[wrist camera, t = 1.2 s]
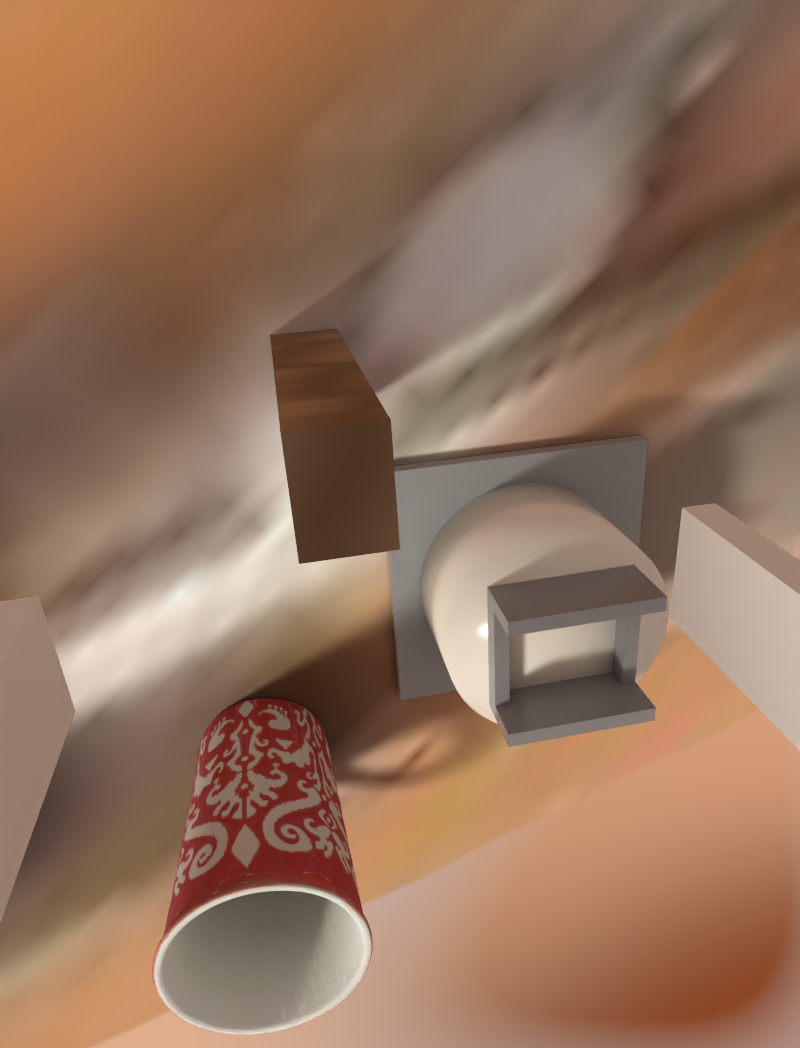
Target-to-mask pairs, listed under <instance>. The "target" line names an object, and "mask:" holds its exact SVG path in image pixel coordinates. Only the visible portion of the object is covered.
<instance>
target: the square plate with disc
mask: <svg viewBox="0 0 800 1048" xmlns="http://www.w3.org/2000/svg"><path fill="white" fill-rule="evenodd" d="M647 450H648V439H647V438H645V437H644V436H642V435H636V436H628V437H620V438H612V439H604V440H596V441H588V442H580V443H572V444H564V445H557V446H549V447H541V448H533V449H525V450H517V451H509V452H501V453H493V454H485V455H477V456H469V457H461V458H453V459H445V460H437V461H430V462H422V463H414V464H406V465H398V466H394V472H395V486H396V499H397V513H398V526H399V540H400V550H393V551H387V557H388V569H389V582H390V594H391V606H392V618H393V630H394V642H395V654H396V666H397V678H398V690H399V695H400V699H401V701H402V700H408V699H414V698H420V697H426V696H432V695H437V694H443V693H449V692H455V691H458V693H459V694H460V696H461V697H462V698H463V700H464V701H465V702H466V703H467V704H468V705H469V706H470V707H471V708H472V709H473V710H475V711H476V712H477V713H479V714H480V715H481V716H483V717H485V718H487V719H489V720H491V721H492V722H495V723H498V725H499V727H500V729H501V732H502V734H503V736H504V738H505V740H506V742H507V745H508V747H511V746H517V745H522V744H527V743H533V742H538V741H544V740H549V739H555V738H560V737H566V736H571V735H577V734H582V733H588V732H593V731H598V730H604V729H609V728H615V727H620V726H626V725H631V724H637V723H642V722H648V721H653V720H655V711H656V708H655V706H654V705H653V704H652V703H651V701H650V700H649V699H648V698H647V696H646V695H645V694H644V692H643V691H642V690H641V689H640V687H639V686H638V685H637V683H638V682H639V681H640V680H641V678H642V677H643V676H644V675H645V673H646V672H647V671H648V669H649V668H650V666H651V665H652V663H653V661H654V660H655V658H656V656H657V654H658V652H659V650H660V647H661V645H662V643H663V639H664V636H665V633H666V629H667V623H668V611H669V605H668V596H667V591H666V588H665V584H664V581H663V579H662V577H661V575H660V573H659V571H658V569H657V568H656V566H655V565H654V563H653V562H652V561H651V560H650V559H649V558H648V557H647V556H646V554H645V553H644V552H643V551H641V550H640V549H639V547H640V535H641V522H642V510H643V498H644V486H645V474H646V462H647Z"/></svg>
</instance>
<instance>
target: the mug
mask: <svg viewBox="0 0 800 1048" xmlns="http://www.w3.org/2000/svg"><path fill="white" fill-rule="evenodd" d="M371 954H372V935H371V930H370V927H369V924H368V922H367V920H366V918H365V916H364V914H363V911H362V907H361V902H360V898H359V894H358V888H357V883H356V877H355V873H354V868H353V863H352V858H351V854H350V849H349V844H348V840H347V835H346V830H345V826H344V820H343V817H342V811H341V805H340V799H339V796H338V791H337V786H336V782H335V777H334V772H333V767H332V761H331V756H330V752H329V747H328V742H327V738H326V734H325V731H324V729H323V727H322V725H321V723H320V722H319V720H318V719H317V718H316V717H315V716H314V715H313V714H312V713H311V712H310V711H309V710H307V709H306V708H304V707H302V706H301V705H299V704H297V703H294V702H291V701H287V700H283V699H277V698H260V699H252V700H247V701H244V702H241V703H238V704H236V705H234V706H232V707H230V708H228V709H227V710H225V711H224V712H222V713H221V714H220V715H218V716H217V717H216V718H215V719H214V720H213V722H212V723H211V724H210V725H209V727H208V728H207V730H206V731H205V734H204V736H203V739H202V742H201V746H200V749H199V755H198V762H197V767H196V772H195V779H194V785H193V790H192V795H191V800H190V804H189V809H188V815H187V820H186V826H185V830H184V835H183V840H182V846H181V850H180V855H179V860H178V865H177V870H176V875H175V880H174V885H173V890H172V896H171V901H170V906H169V911H168V916H167V922H166V927H165V932H164V936H163V938H162V939H161V941H160V943H159V945H158V947H157V950H156V952H155V956H154V960H153V966H152V974H153V982H154V985H155V989H156V991H157V993H158V995H159V997H160V998H161V1000H162V1001H163V1003H164V1004H165V1005H166V1006H167V1007H168V1008H169V1009H170V1010H171V1011H172V1012H173V1013H174V1014H176V1015H177V1016H178V1017H180V1018H181V1019H183V1020H185V1021H186V1022H188V1023H191V1024H193V1025H195V1026H197V1027H200V1028H202V1029H206V1030H209V1031H214V1032H219V1033H227V1034H238V1035H242V1034H259V1033H267V1032H273V1031H277V1030H282V1029H286V1028H289V1027H293V1026H296V1025H299V1024H301V1023H304V1022H306V1021H309V1020H311V1019H313V1018H315V1017H317V1016H319V1015H321V1014H323V1013H325V1012H326V1011H328V1010H330V1009H331V1008H333V1007H334V1006H336V1005H337V1004H338V1003H340V1002H341V1001H342V1000H343V999H345V997H347V996H348V995H349V994H350V993H351V992H352V990H353V989H354V988H355V987H356V986H357V985H358V983H359V982H360V980H361V979H362V977H363V976H364V974H365V972H366V970H367V968H368V965H369V962H370V958H371Z"/></svg>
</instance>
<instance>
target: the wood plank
mask: <svg viewBox="0 0 800 1048" xmlns="http://www.w3.org/2000/svg"><path fill="white" fill-rule="evenodd" d="M270 337H271V347H272V356H273V365H274V375H275V384H276V394H277V403H278V412H279V422H280V431H281V439H282V446H283V453H284V460H285V467H286V474H287V481H288V488H289V495H290V502H291V509H292V516H293V523H294V530H295V537H296V544H297V552H298V559H299V564H301V563H308V562H315V561H322V560H329V559H336V558H343V557H350V556H357V555H364V554H372V553H379V552H386V551H393V550H400V540H399V526H398V513H397V499H396V486H395V472H394V459H393V445H392V432H391V419H390V418H389V416H388V414H387V413H386V411H385V409H384V408H383V406H382V404H381V403H380V401H379V400H378V398H377V396H376V395H375V393H374V391H373V390H372V388H371V386H370V385H369V383H368V381H367V380H366V378H365V376H364V375H363V373H362V371H361V370H360V368H359V366H358V365H357V363H356V361H355V360H354V358H353V356H352V355H351V353H350V351H349V350H348V348H347V346H346V345H345V343H344V341H343V340H342V338H341V336H340V335H339V333H338V331H337V330H336V329H330V330H320V331H310V332H300V333H290V334H279V335H270Z"/></svg>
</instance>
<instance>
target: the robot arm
mask: <svg viewBox="0 0 800 1048" xmlns="http://www.w3.org/2000/svg"><path fill="white" fill-rule="evenodd" d="M670 618H671V619H672V620H673V621H674V622H675V623H676V624H677V625H678V626H679V627H680V628H681V629H682V630H683V631H684V632H685V633H686V634H687V635H688V636H689V637H690V638H691V639H692V640H693V641H694V642H695V643H696V644H697V646H698V647H699V648H700V649H701V650H702V651H703V652H704V653H705V654H706V655H707V656H708V657H709V658H710V659H711V660H712V661H713V662H714V663H715V664H716V665H717V666H718V667H719V668H720V669H721V670H722V671H723V672H724V673H725V674H726V675H727V676H728V677H729V678H730V679H731V681H732V682H733V683H734V684H735V685H736V686H737V687H738V688H739V689H740V690H741V691H742V692H743V693H744V694H745V695H746V696H747V697H748V698H749V699H750V700H751V701H752V702H753V703H754V704H755V705H756V706H757V707H758V708H759V709H760V710H761V711H762V712H763V713H764V714H765V716H766V717H767V718H769V720H770V721H771V722H772V723H773V724H774V725H775V726H776V727H777V728H778V729H779V730H780V731H781V732H782V733H783V734H784V735H785V736H786V737H787V738H788V739H789V740H790V741H791V742H792V743H793V744H794V745H795V746H796V747H797V748H798V749H799V750H800V560H799V559H797V558H796V557H794V556H793V555H791V554H790V553H788V552H787V551H785V550H784V549H782V548H781V547H779V546H778V545H776V544H775V543H773V542H772V541H770V540H769V539H768V538H766V537H765V536H763V535H762V534H760V533H759V532H757V531H756V530H754V529H753V528H751V527H750V526H748V525H747V524H745V523H744V522H742V521H741V520H739V519H738V518H737V517H735V516H734V515H732V514H731V513H729V512H728V511H726V510H725V509H723V508H722V507H720V506H719V505H717V504H716V503H712V504H705V505H697V506H690V507H683V508H682V513H681V522H680V531H679V540H678V549H677V558H676V567H675V576H674V585H673V594H672V603H671V612H670ZM74 713H75V709H74V706H73V703H72V700H71V697H70V693H69V690H68V687H67V684H66V681H65V678H64V675H63V672H62V668H61V665H60V662H59V659H58V656H57V653H56V650H55V647H54V643H53V640H52V637H51V634H50V631H49V628H48V625H47V621H46V618H45V615H44V612H43V609H42V606H41V603H40V600H39V596H36V597H29V598H21V599H14V600H7V601H0V922H1V919H2V917H3V914H4V911H5V908H6V905H7V902H8V900H9V897H10V894H11V891H12V888H13V886H14V883H15V880H16V877H17V874H18V871H19V869H20V866H21V863H22V860H23V857H24V854H25V852H26V849H27V846H28V843H29V840H30V838H31V835H32V832H33V829H34V826H35V823H36V821H37V818H38V815H39V812H40V809H41V807H42V804H43V801H44V798H45V795H46V792H47V790H48V787H49V784H50V781H51V778H52V775H53V773H54V770H55V767H56V764H57V761H58V759H59V756H60V753H61V750H62V747H63V744H64V742H65V739H66V736H67V733H68V730H69V728H70V725H71V722H72V719H73V716H74Z"/></svg>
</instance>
